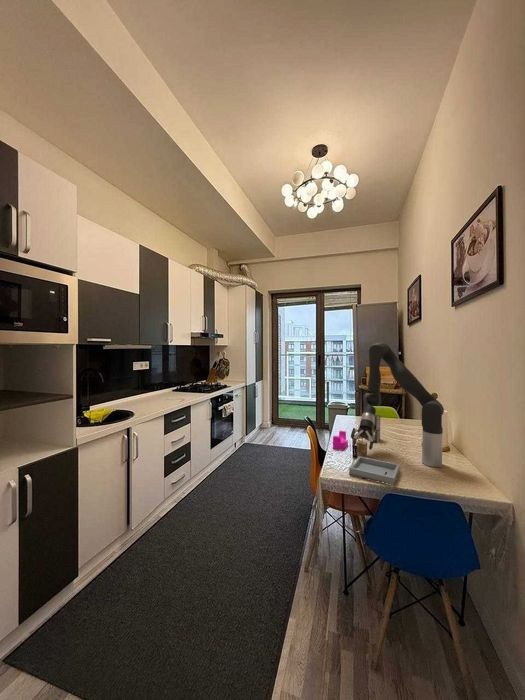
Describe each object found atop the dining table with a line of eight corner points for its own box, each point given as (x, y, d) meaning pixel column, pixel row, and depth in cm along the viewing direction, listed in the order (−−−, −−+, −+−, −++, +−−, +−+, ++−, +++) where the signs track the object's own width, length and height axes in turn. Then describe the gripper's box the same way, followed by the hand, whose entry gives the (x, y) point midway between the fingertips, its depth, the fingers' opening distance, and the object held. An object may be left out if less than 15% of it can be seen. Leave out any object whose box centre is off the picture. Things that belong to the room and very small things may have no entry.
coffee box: (380, 439, 195) (380, 415, 195) (376, 441, 191) (376, 416, 190) (367, 436, 202) (367, 412, 201) (363, 438, 197) (363, 414, 197)
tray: (399, 471, 145) (399, 464, 145) (394, 486, 130) (394, 478, 130) (358, 462, 156) (358, 456, 156) (349, 475, 140) (349, 467, 140)
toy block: (343, 450, 174) (343, 438, 173) (332, 448, 177) (332, 436, 177) (349, 443, 186) (349, 432, 186) (340, 441, 190) (340, 430, 190)
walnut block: (367, 458, 162) (367, 441, 162) (365, 460, 159) (365, 444, 158) (358, 456, 165) (359, 440, 164) (356, 458, 161) (357, 442, 161)
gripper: (353, 416, 173) (347, 441, 163) (379, 420, 165) (374, 446, 156) (356, 423, 177) (350, 448, 168) (380, 427, 170) (376, 453, 160)
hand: (361, 447), depth 162 cm, fingers open, 8 cm apart
